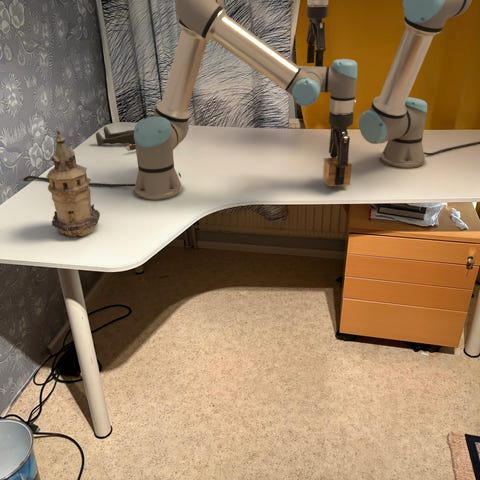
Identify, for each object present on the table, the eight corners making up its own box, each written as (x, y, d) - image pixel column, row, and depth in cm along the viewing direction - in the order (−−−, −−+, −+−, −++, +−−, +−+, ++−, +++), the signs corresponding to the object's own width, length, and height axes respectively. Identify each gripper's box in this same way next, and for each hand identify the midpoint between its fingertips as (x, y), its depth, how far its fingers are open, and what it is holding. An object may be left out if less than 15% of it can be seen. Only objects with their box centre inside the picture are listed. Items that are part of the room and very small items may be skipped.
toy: (112, 120, 230) (179, 120, 224) (115, 134, 233) (181, 134, 227) (86, 139, 208) (158, 140, 202) (89, 155, 211) (161, 156, 205)
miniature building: (80, 214, 164) (63, 117, 149) (111, 225, 157) (96, 125, 142) (44, 231, 154) (22, 130, 140) (75, 244, 147) (55, 139, 133)
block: (350, 184, 176) (352, 163, 172) (327, 186, 175) (329, 165, 172) (344, 177, 182) (346, 156, 178) (323, 178, 181) (324, 158, 177)
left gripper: (362, 120, 159) (356, 191, 170) (344, 102, 176) (339, 168, 187) (338, 121, 158) (332, 192, 169) (322, 104, 175) (318, 169, 186)
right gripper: (337, 9, 182) (332, 73, 193) (319, 2, 204) (316, 59, 214) (315, 10, 182) (312, 74, 192) (300, 2, 203) (298, 60, 214)
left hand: (336, 180), depth 178 cm, fingers closed on block, 7 cm apart
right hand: (314, 66), depth 203 cm, fingers open, 13 cm apart
